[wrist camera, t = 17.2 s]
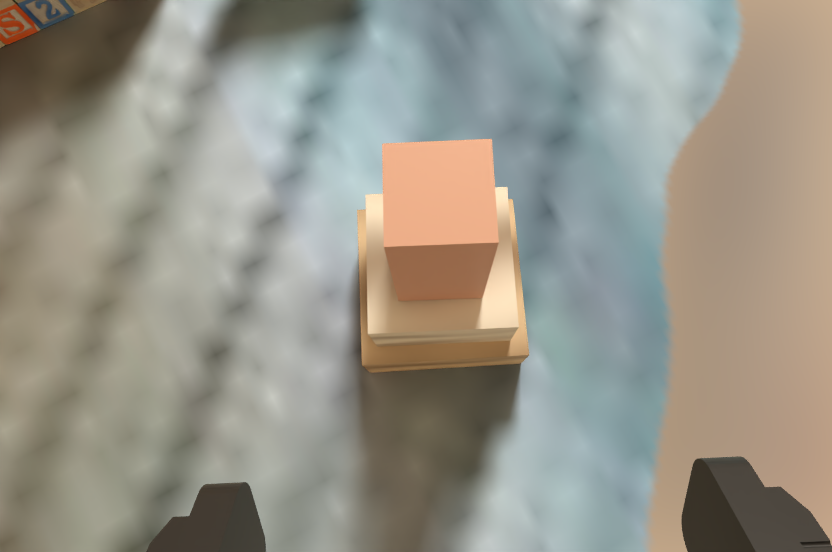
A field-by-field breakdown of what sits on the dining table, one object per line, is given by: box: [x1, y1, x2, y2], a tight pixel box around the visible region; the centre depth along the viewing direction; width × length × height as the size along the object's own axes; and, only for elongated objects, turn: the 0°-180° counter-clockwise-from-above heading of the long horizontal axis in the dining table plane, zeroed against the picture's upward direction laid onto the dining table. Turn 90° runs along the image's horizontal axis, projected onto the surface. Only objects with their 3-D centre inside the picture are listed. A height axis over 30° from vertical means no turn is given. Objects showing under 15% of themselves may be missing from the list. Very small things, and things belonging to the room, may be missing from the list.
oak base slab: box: [357, 199, 529, 373], centre depth 39 cm, size 10×10×4 cm
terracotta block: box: [382, 139, 499, 301], centre depth 28 cm, size 4×4×9 cm
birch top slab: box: [366, 187, 519, 347], centre depth 35 cm, size 8×8×4 cm
